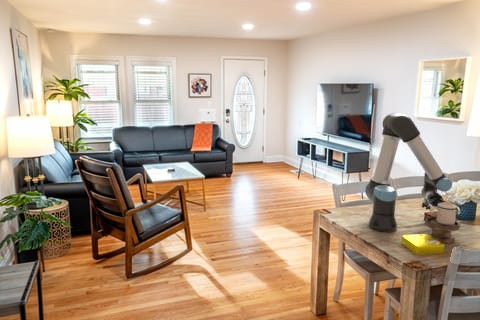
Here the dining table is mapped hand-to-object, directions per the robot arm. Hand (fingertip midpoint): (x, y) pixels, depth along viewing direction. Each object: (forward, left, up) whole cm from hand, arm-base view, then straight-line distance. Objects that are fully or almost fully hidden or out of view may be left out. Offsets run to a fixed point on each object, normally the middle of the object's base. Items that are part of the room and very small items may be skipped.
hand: (445, 211), depth 193 cm
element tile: (-13, -10, -17) cm, 24 cm away
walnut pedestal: (0, +4, -16) cm, 17 cm away
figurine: (+21, +48, -16) cm, 55 cm away
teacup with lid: (0, +4, -7) cm, 8 cm away
